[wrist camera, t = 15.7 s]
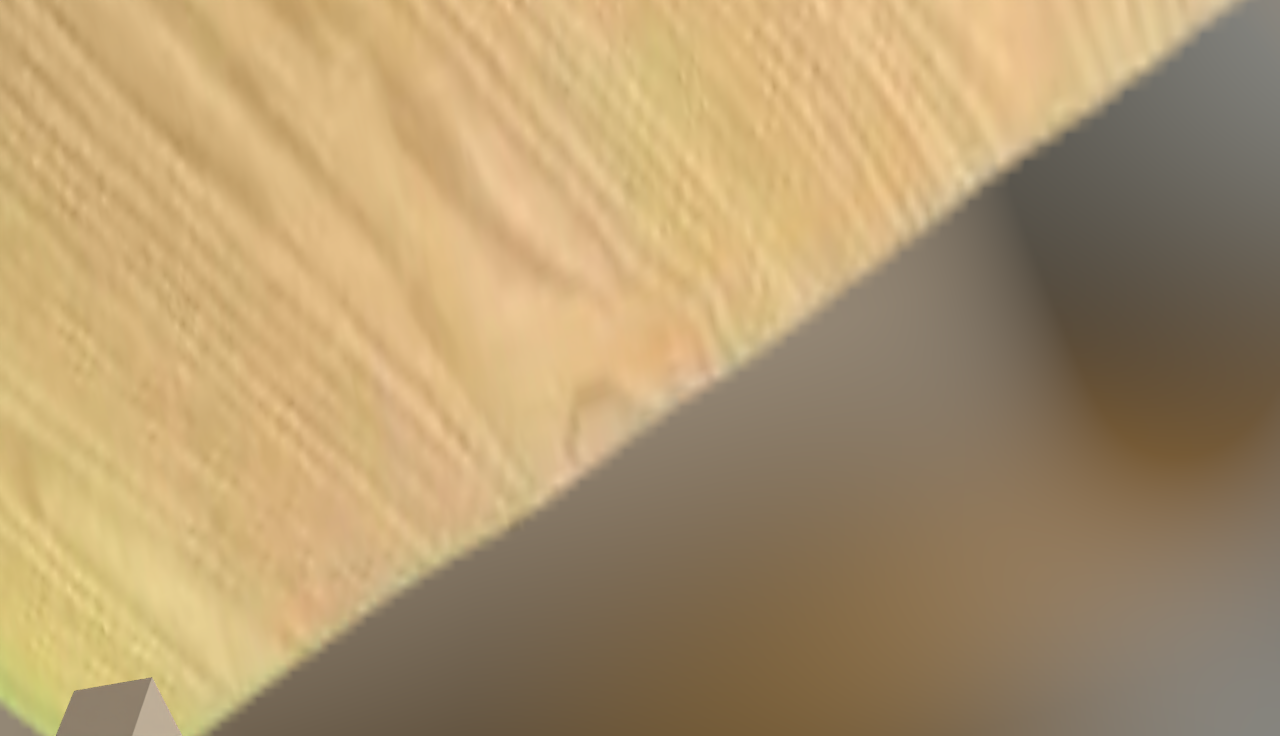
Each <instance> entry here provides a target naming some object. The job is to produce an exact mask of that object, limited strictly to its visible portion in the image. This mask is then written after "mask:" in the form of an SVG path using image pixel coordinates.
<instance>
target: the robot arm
mask: <svg viewBox="0 0 1280 736" xmlns="http://www.w3.org/2000/svg"><path fill="white" fill-rule="evenodd" d="M56 736H182V735H181V733H180V731H179V729H178V727H177V725H176V723H175V721H174V719H173V717H172V715H171V713H170V711H169V709H168V707H167V705H166V703H165V702H164V700H163V698H162V696H161V694H160V692H159V690H158V688H157V686H156V684H155V682H154V680H153V678H152V677H151V678H146V679H140V680H134V681H128V682H123V683H117V684H111V685H105V686H100V687H94V688H88V689H82V690H77V691H74V693H73V695H72V697H71V700H70V702H69V705H68V707H67V710H66V712H65V715H64V717H63V719H62V722H61V724H60V727H59V729H58V732H57V734H56Z"/></svg>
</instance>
